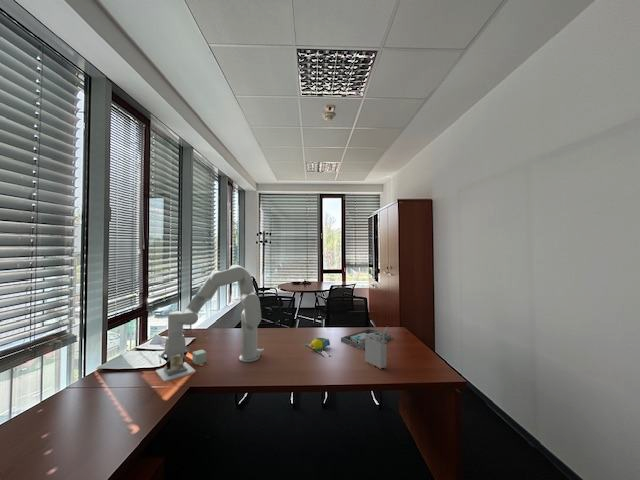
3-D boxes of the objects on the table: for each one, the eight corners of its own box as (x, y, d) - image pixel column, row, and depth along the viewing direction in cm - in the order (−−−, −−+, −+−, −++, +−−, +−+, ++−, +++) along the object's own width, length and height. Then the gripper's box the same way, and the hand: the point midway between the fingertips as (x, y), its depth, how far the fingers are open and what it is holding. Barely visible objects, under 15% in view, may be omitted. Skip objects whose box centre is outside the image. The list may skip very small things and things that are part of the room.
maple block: (179, 364, 164) (179, 354, 164) (182, 368, 160) (182, 357, 160) (167, 367, 160) (168, 357, 160) (171, 371, 156) (171, 360, 156)
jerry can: (390, 369, 164) (390, 326, 164) (384, 372, 162) (384, 327, 162) (370, 360, 177) (371, 320, 177) (365, 362, 174) (365, 321, 174)
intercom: (386, 333, 217) (361, 339, 203) (385, 338, 217) (361, 345, 203) (373, 328, 228) (349, 334, 214) (373, 333, 228) (349, 339, 214)
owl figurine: (299, 333, 202) (317, 330, 210) (299, 345, 202) (317, 342, 210) (320, 346, 178) (340, 342, 187) (320, 360, 178) (340, 355, 186)
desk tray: (368, 331, 231) (368, 328, 231) (391, 338, 216) (391, 334, 216) (340, 341, 209) (340, 337, 209) (363, 350, 194) (363, 345, 193)
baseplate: (185, 363, 171) (185, 359, 171) (195, 372, 160) (195, 368, 160) (155, 371, 160) (155, 368, 160) (163, 382, 149) (163, 378, 149)
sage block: (202, 358, 178) (202, 349, 178) (206, 362, 174) (206, 352, 174) (192, 361, 174) (192, 351, 174) (196, 365, 170) (196, 354, 170)
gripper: (189, 329, 169) (189, 359, 169) (156, 335, 157) (156, 368, 157) (193, 332, 163) (193, 363, 163) (160, 339, 151) (160, 373, 151)
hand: (175, 365), depth 160 cm, fingers closed on maple block, 6 cm apart
